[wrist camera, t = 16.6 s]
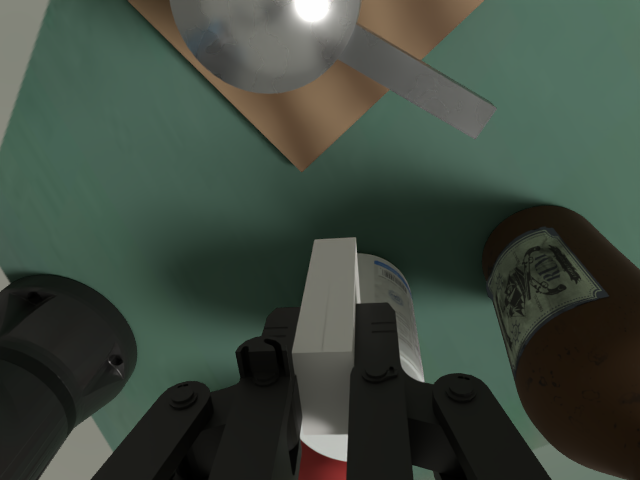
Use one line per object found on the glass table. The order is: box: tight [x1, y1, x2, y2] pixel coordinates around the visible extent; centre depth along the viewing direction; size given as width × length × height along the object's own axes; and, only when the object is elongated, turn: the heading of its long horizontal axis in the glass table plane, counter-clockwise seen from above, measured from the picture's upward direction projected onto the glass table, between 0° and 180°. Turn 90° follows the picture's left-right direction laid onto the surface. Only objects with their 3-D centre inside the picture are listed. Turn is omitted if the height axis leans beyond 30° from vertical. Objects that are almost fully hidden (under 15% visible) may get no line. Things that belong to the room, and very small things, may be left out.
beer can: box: [298, 439, 347, 480], centre depth 47 cm, size 7×7×12 cm
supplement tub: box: [300, 253, 425, 462], centre depth 40 cm, size 10×10×15 cm
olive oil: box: [482, 206, 640, 480], centre depth 32 cm, size 11×11×25 cm
